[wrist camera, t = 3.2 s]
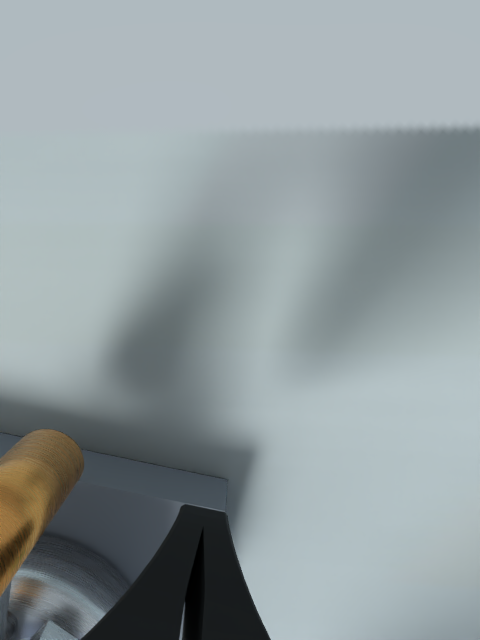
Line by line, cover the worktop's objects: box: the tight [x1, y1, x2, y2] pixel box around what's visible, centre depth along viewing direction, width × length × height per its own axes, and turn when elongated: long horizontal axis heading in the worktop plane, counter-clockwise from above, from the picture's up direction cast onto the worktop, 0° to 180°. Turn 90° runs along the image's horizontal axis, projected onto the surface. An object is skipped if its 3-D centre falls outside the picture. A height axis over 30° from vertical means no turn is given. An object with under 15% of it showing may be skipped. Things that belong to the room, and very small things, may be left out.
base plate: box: [0, 433, 228, 640], centre depth 17 cm, size 13×14×2 cm
